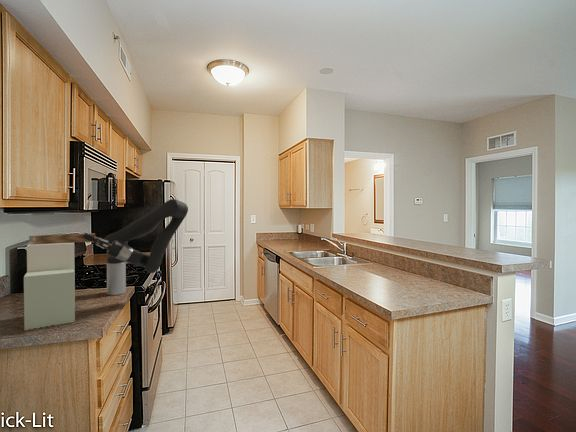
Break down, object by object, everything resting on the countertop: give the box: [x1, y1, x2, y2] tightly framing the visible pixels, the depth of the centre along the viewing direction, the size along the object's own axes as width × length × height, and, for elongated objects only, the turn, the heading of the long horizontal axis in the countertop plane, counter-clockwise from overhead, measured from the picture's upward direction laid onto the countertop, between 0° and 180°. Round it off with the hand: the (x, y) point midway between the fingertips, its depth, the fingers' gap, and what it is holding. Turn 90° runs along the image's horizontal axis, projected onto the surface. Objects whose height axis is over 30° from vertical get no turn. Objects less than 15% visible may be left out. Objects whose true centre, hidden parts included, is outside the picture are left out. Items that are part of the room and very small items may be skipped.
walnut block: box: [28, 232, 96, 245], centre depth 136 cm, size 24×4×4 cm, turn 125°
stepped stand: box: [23, 243, 76, 331], centre depth 130 cm, size 20×16×32 cm
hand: (84, 235), depth 140 cm, fingers open, 5 cm apart
